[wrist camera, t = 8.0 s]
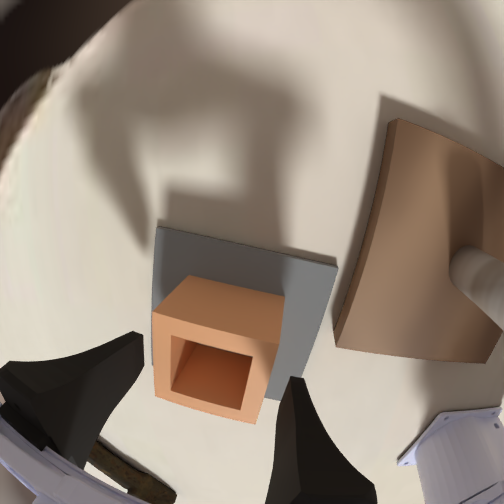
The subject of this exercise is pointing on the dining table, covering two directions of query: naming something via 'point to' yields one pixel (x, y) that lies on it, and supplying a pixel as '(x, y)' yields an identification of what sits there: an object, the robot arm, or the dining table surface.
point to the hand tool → (130, 477)
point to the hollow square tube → (220, 336)
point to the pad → (256, 278)
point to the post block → (429, 254)
